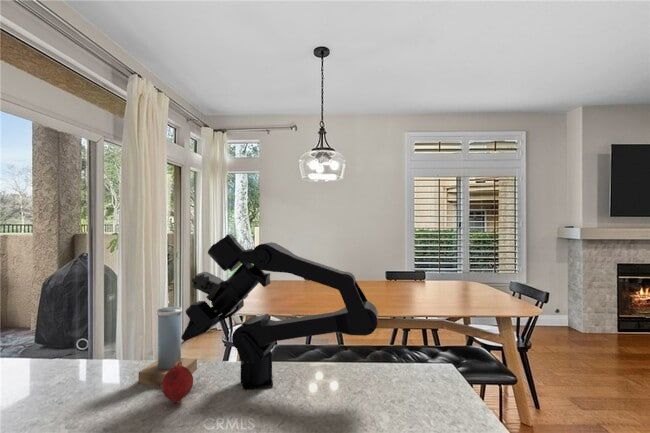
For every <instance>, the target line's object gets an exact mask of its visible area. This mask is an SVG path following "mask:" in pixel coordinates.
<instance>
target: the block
mask: <svg viewBox="0 0 650 433" xmlns="http://www.w3.org/2000/svg"><path fill="white" fill-rule="evenodd" d="M181 362H182V366H184V367H186V368H187V369H188V370H189V371H190V372H191V374H192V375H193V373H194V372H196V370H197V369H198V359H197V358H190V357H189V358H188V357H181ZM169 370H170V369H168V370H161V369H158V359H157V360H156V361H154V362H152V363H151V364H150V365H148V366H146V367H144V368H143V369H141V370H140V371H138V384H141V385H152V386H162V381H163V378H164V376H165V375H166V373H167V372H168V371H169Z"/></svg>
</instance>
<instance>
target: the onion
mask: <svg viewBox="0 0 650 433" xmlns="http://www.w3.org/2000/svg"><path fill="white" fill-rule="evenodd" d="M193 384H194V376H193V373H192V374H191V372H190V371H189V370H188V369H187V368H186V367H184V366H182V362H181V361H178V362H176V364H175V365H174V367H173V368H171V369H170V370H169V371H168V372H167V373H166V375H165V376H164V378H163V381H162V385H161V391H162V394H163V396H164V397H165V398H166V399H167V400H168V401H169V400H170V401H172V402H174V403H180V402H181V401H182V400H183V399H184V398H186V396H188V395H189V394H190V392H191V390H192V389H193V386H194V385H193Z"/></svg>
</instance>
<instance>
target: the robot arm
mask: <svg viewBox="0 0 650 433" xmlns="http://www.w3.org/2000/svg"><path fill="white" fill-rule="evenodd" d="M207 255H209V257H210V258H211V259H212V260H213V262H215V263H216V264H217V265H218V266H219V267H220V269H221V270H223V271H224V272H227V271H230V272H233V271H234V272H233V273H232V274H231V275H230V276H229V277H228V278H227V279H226V280H223V279H222V278H220V277H218V276H217V275H214V274H213V273H210V272H209V271H202V272H199V273H197V274H196V275H195V277H194V278H192V280H191V282H192V285H191V286H192V288H193V289H194V290H198V291H200V292H202V293H205V294H206V299H207V300H208V301H209V302H210V303H211V306H210V305H209V304H208V302H206V301H205V300H198V301H197V302H194V303H191V304H190V305H189V306H188V307H187V309H186V310H185V314H186V316H187V317H188V318H189V321H188V324H187V326H186V328H185V330H184V331H183V334H181V340H182V341H184V342H186V341H189V340H192V339H193V338H195V337H199V336H200V335H203V334H206V333H207V332H209V331H211V330H212V329H213V328H214V327H215V326H217V324H218V323H220V322H221V321H224V320H227V319H228V318H231V317H232V316H234V315H235V314H237V313H238V312H239V311H241V310H242V309H243V307H244V305H245V301H244V300H246V299H247V298H248V297H249V294H250V293H251V292H252V291H253V290H254V289H255V288H256V287H257V286H258V285H259V284H260V285H261V286H262V287H264V288H265V287H268V286H269V285H271V278H270V277H271V273H270V272H274V273H284V274H285V273H286V274H291V275H294V276H297V277H300V278H303V279H305V280H308V281H311V282H314V283H316V284H320V285H323V286H326V287H329V288H332V289H335V290H338V292H339V294H340V296H341V298H342V300H343V303H344V307H343V308H340V309H338V310H336V311H332V312H326V313H320V314H314V315H313V314H312V315H306V316H300V317H292V318H287V319H281V320H273V319H270V317H269V315H270V314H269V313H265V314H261V315H252V316H250V317H249V318H247V319H246V320H245V321H244V322H242V323H241V325H239V326H238V327H237V328H235V329H234V331H233V333H232V337H231V342H232V344H233V346H234V348H235V349H236V350H237V351H236V352H237V354H238V358H239V360H240V384H241V385H242V390H244V391H245V390H246V391H248V390H255V389H265V388H273V387H274V380H273V354H272V350H273V349H274V347H275V344H276V342H278V341H279V342H280V341H286V340H287V341H288V340H293V339H300V338H306V337H312V336H321V335H327V334H333V333H334V334H335V333H339V334H343V335H347V336H362V337H367V336H369V335H372V334H373V333H374V332H375V330H376V329H377V328H378V327H377V326H378V318H379V314H378V313H379V312H378V309H377V307H376V306H375V305H374V304H373V303H371V302H370V301H369V300H368V299H367V297H366V295H365V292H363V290H362V289H361V287H360V285H359V283H358V281H357V280H356V277H355V275H354V274H353V273H351V272H350V271H344V270H341V269H340V270H339V269H338V268H334V267H331V266H328V265H325V264H322V263H320V262H315V261H313V260H310V259H307V258H304V257H301V256H298V255H296V254H295V253H293V252H292V251H290V250H289V249H287V248H285V247H284V246H282V245H280V244H278V243H277V242H272V241H271V242H265V243H261V244H260V243H259V244H258V245H256V246H255V247H254V248H249V249H245V248H244V247H243V246H242V245H241V244H240V243H239V241H238V240H237V238H235V236H233V234H232V233H231V234H226V235H225V237H224V236H223V238H221V239H219V240H218V241H217V242H216V243H213V244H212V245H211V247H209V249H208V251H207ZM264 271H266V272H267V273H266V272H264Z"/></svg>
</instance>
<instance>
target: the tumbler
mask: <svg viewBox="0 0 650 433" xmlns="http://www.w3.org/2000/svg"><path fill="white" fill-rule="evenodd" d="M182 313H183V308H182V307H181V306H167V307H162V308H159V309H157V310H156V315H157V360H158V369H161V370H168V369H171V368H173V367H174V365H175V364H176V362H178V361H181V358H182Z"/></svg>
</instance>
